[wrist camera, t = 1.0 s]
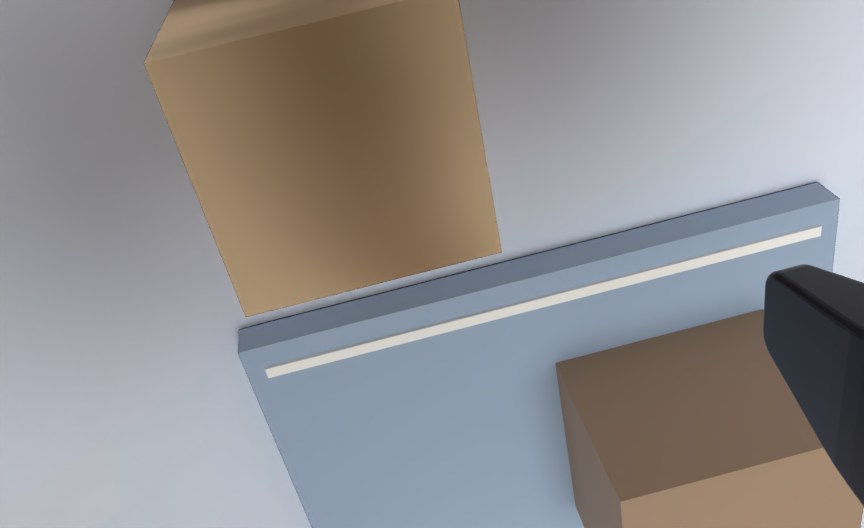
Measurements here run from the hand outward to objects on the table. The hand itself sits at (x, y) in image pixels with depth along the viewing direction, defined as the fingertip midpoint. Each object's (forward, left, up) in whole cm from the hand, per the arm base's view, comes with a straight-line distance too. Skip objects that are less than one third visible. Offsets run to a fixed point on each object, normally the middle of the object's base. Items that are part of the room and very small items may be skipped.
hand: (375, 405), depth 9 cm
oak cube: (0, 0, -11) cm, 11 cm away
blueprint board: (+4, -12, -11) cm, 17 cm away
